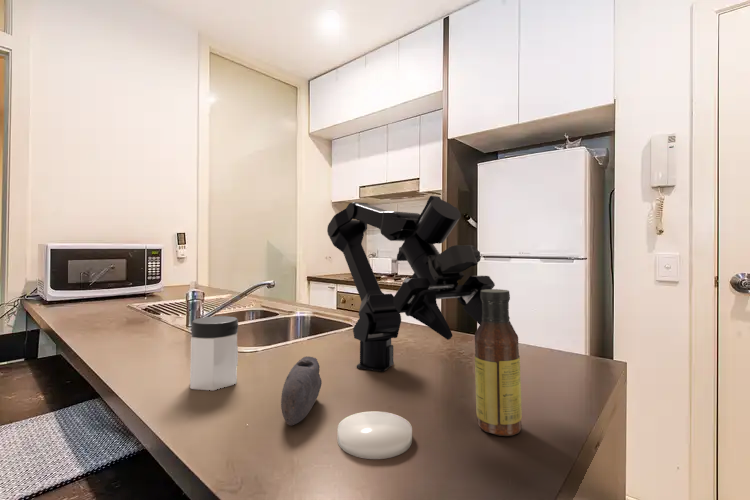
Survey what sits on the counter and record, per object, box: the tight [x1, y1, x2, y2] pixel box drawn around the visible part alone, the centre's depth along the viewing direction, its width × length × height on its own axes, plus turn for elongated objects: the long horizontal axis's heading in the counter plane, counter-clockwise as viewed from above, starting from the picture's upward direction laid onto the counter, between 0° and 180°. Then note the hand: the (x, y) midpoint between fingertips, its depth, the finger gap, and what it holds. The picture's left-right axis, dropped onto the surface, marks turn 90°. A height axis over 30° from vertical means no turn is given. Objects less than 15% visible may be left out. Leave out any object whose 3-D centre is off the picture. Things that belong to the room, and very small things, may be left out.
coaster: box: [337, 410, 413, 460], centre depth 50 cm, size 10×10×2 cm
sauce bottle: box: [474, 288, 523, 437], centre depth 53 cm, size 6×6×20 cm
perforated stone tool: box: [280, 356, 323, 426], centre depth 58 cm, size 15×5×7 cm, turn 177°
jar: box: [189, 315, 239, 392], centre depth 70 cm, size 9×8×12 cm
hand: (472, 334), depth 58 cm, fingers open, 9 cm apart
